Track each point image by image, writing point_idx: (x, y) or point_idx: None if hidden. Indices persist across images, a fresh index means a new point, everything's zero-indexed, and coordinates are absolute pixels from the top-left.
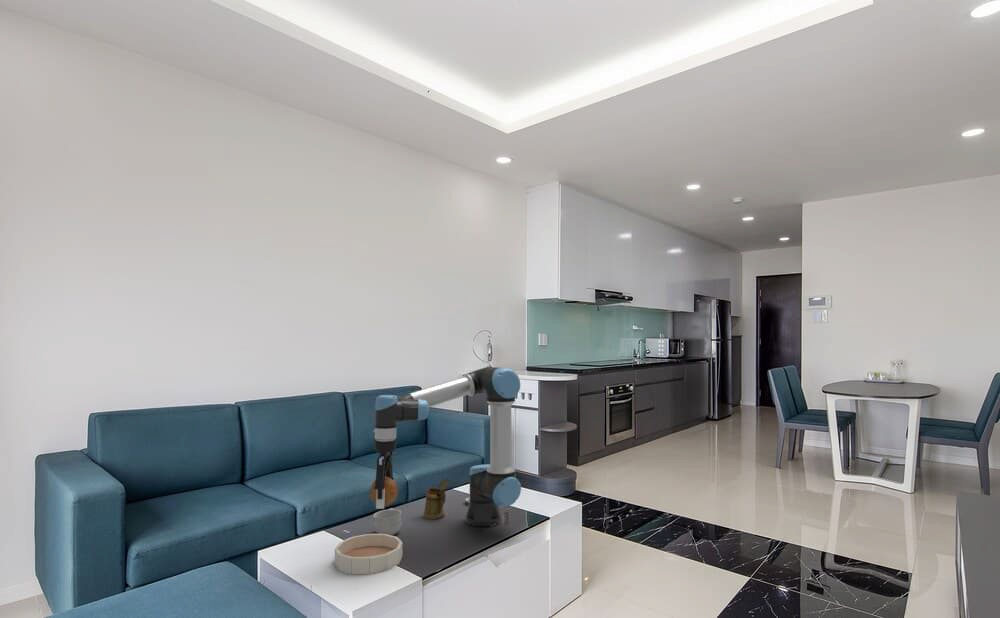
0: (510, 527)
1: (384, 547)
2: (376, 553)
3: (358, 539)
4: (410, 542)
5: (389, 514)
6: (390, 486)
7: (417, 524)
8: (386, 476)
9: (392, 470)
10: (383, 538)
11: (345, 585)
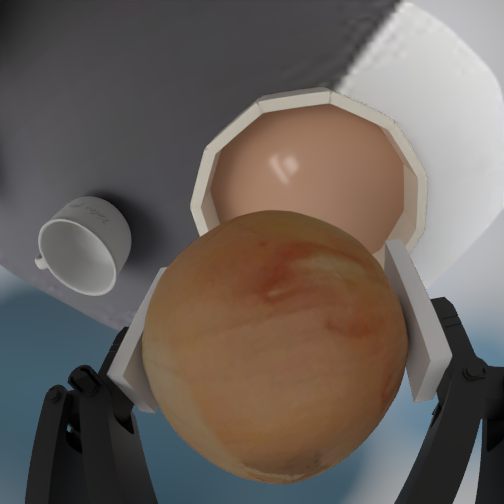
0: None
1: (220, 181)
2: (276, 187)
3: None
4: (134, 124)
5: (57, 257)
6: (372, 345)
7: (25, 176)
8: (130, 436)
9: (37, 431)
10: (204, 201)
11: (465, 198)
